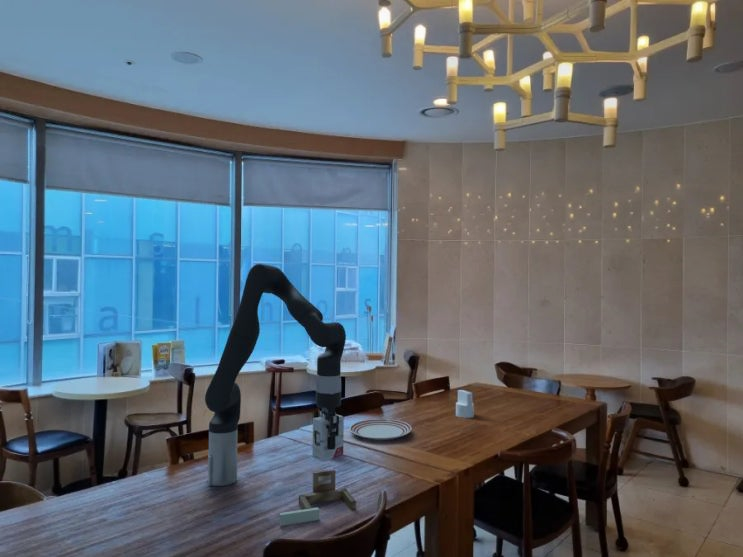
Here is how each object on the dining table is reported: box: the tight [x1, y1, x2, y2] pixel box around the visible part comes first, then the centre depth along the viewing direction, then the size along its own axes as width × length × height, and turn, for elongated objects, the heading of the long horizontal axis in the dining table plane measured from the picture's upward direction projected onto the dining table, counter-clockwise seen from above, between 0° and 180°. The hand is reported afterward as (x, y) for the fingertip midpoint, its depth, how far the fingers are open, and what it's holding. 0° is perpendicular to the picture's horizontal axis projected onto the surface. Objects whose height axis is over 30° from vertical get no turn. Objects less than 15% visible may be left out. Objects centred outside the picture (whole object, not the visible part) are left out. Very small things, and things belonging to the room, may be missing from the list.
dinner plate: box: [349, 418, 412, 441], centre depth 228 cm, size 27×27×3 cm
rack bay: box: [298, 469, 357, 511], centre depth 156 cm, size 15×12×8 cm
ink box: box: [312, 414, 345, 462], centre depth 154 cm, size 9×5×12 cm, turn 136°
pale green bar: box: [278, 507, 320, 527], centre depth 144 cm, size 11×1×3 cm, turn 111°
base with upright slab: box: [455, 389, 475, 419], centre depth 260 cm, size 9×9×12 cm
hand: (328, 445), depth 154 cm, fingers closed on ink box, 6 cm apart
